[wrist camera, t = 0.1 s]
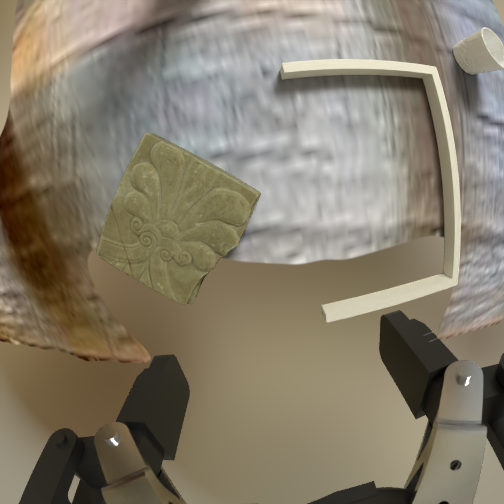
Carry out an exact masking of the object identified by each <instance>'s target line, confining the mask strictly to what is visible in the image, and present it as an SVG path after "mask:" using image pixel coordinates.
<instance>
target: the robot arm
mask: <svg viewBox="0 0 504 504" xmlns="http://www.w3.org/2000/svg"><path fill="white" fill-rule="evenodd" d="M379 350H380V356H381V359H382V361H383V363H384V365H385V366H386V368H387V370H388V371H389V373H390V375H391V376H392V378H393V380H394V382H395V383H396V385H397V386H398V388H399V390H400V392H401V394H402V395H403V397H404V399H405V401H406V403H407V404H408V406H409V408H410V410H411V412H412V413H413V415H414V417H415V419H417V418H420V417H422V416H424V415H426V416H427V418H428V422H427V426H426V429H425V433H424V436H423V440H422V443H421V446H420V449H419V452H418V455H417V458H416V461H415V464H414V466H413V468H412V471H411V473H410V475H409V477H408V479H407V481H406V484H405V486H404V488H403V489H402V488H393V487H385V488H384V487H382V488H376V486H375V483H374V481H372V482H369V483H366V484H362V485H359V486H356V487H352V488H349V489H345V490H341V491H337V492H334V493H332V494H330V495H328V496H325V497H323V498H321V499H318V500H316V501H314V502H311V503H308V504H473V501H474V498H475V494H476V490H477V486H478V482H479V478H480V473H481V468H482V463H483V458H484V451H485V445H486V437H487V439H488V441H489V442H490V444H491V446H492V447H493V450H494V452H495V454H496V456H497V457H498V460H499V461H500V463H501V466H502V468H503V470H504V353H503V355H502V356H501V359H500V362H499V364H496V365H492V366H488V367H484V368H480V367H479V366H478V365H477V364H476V363H474V362H472V361H467V360H461V361H459V360H458V359H457V358H456V357H455V356H454V355H453V354H452V353H451V352H450V350H449V349H448V348H447V347H446V346H445V345H444V344H443V343H442V342H441V341H440V340H439V339H437V336H436V335H435V334H434V333H432V332H431V330H430V329H429V328H428V327H427V326H426V325H425V324H424V323H422V322H420V321H417V320H415V319H411V320H409V319H408V318H407V317H406V315H404V313H403V312H402V311H400V310H398V311H395V312H392V313H389V314H385V315H382V317H381V321H380V345H379ZM189 395H190V390H189V385H188V382H187V380H186V378H185V376H184V373H183V371H182V369H181V367H180V365H179V363H178V360H177V358H176V357H175V355H161V356H155V357H154V358H153V360H152V362H151V364H150V367H149V368H148V369H145V370H144V371H143V372H141V374H139V375H138V377H137V378H136V380H135V382H134V384H133V388H131V390H130V392H129V395H128V396H127V399H126V401H125V403H124V405H123V407H122V409H121V411H120V413H119V416H118V418H117V420H116V422H111V423H108V424H105V425H104V426H102V427H101V428H100V429H99V430H98V431H97V432H96V434H95V436H90V437H82V438H79V437H78V436H77V435H76V434H75V433H74V432H73V431H72V430H70V429H68V428H67V429H66V428H63V429H59V430H58V431H56V432H54V433H53V434H52V435H51V436H50V438H49V440H48V442H47V444H46V446H45V448H44V449H43V452H42V454H41V455H40V458H39V460H38V462H37V464H36V466H35V468H34V470H33V473H32V474H31V477H30V479H29V481H28V483H27V485H26V488H25V490H24V492H23V495H22V497H21V500H20V502H19V504H71V503H70V501H69V500H68V491H69V488H70V485H71V483H72V480H73V477H74V475H76V476H77V477H78V478H80V482H79V485H78V487H77V490H76V493H75V496H74V499H73V502H72V504H187V503H186V502H185V501H184V499H183V498H182V496H181V495H180V493H179V492H178V490H177V489H176V487H175V486H174V485H173V483H172V481H171V480H170V478H169V477H168V475H167V474H166V472H165V470H164V469H163V467H162V466H161V465H162V461H163V460H174V459H175V454H176V450H177V446H178V442H179V437H180V433H181V429H182V424H183V420H184V416H185V412H186V408H187V404H188V400H189Z"/></svg>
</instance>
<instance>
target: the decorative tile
mask: <svg viewBox="0 0 504 504" xmlns="http://www.w3.org/2000/svg"><path fill="white" fill-rule="evenodd" d="M260 195H261V193H260V192H259V191H257V190H256V189H254V188H253V187H251V186H249V185H248V184H246V183H244V182H243V181H241V180H239V179H238V178H236V177H234V176H232V175H231V174H229V173H227V172H226V171H224V170H222V169H220V168H219V167H217V166H215V165H213V164H212V163H210V162H208V161H206V160H204V159H202V158H200V157H198V156H197V155H195V154H193V153H191V152H189V151H187V150H185V149H183V148H182V147H180V146H177V145H175V144H173V143H171V142H169V141H167V140H165V139H164V138H162V137H160V136H158V135H156V134H152V133H145V135H144V136H143V138H142V140H141V141H140V143H139V145H138V147H137V149H136V151H135V153H134V155H133V157H132V159H131V161H130V163H129V165H128V167H127V169H126V171H125V173H124V175H123V178H122V180H121V182H120V185H119V187H118V189H117V192H116V194H115V197H114V199H113V202H112V205H111V206H110V209H109V212H108V215H107V217H106V221H105V224H104V227H103V230H102V233H101V236H100V240H99V243H98V247H97V251H96V253H97V255H98V256H100V257H101V258H102V259H103V260H105V261H107V262H108V263H110V264H111V265H113V266H114V267H116V268H118V269H119V270H121V271H123V272H124V273H126V274H128V275H130V276H131V277H133V278H135V279H137V280H138V281H140V282H142V283H143V284H145V285H147V286H149V287H150V288H152V289H154V290H155V291H157V292H159V293H161V294H163V295H164V296H167V297H168V298H170V299H173V300H175V301H177V302H179V303H181V304H183V305H186V304H188V303H189V304H192V303H193V302H194V300H195V298H196V296H197V295H198V292H199V288H200V286H201V284H202V282H203V280H204V278H205V276H206V275H207V274H208V273H209V271H210V270H212V269H213V268H214V267H215V266H216V264H217V262H218V261H219V258H220V257H224V256H226V255H227V253H228V252H229V251H230V250H231V249H233V248H234V247H236V246H237V245H238V244H239V241H240V238H241V236H242V234H243V231H244V229H245V227H246V226H247V224H248V222H249V218H250V215H251V214H252V212H253V210H254V207H255V205H256V203H257V201H258V200H259V197H260Z"/></svg>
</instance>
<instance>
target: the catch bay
mask: <svg viewBox="0 0 504 504" xmlns="http://www.w3.org/2000/svg"><path fill="white" fill-rule="evenodd" d="M280 73H281V77H282V80H284V79H292V78H302V77H314V76H331V75H386V76H402V77H414V78H422V79H423V82H424V86H425V89H426V93H427V97H428V101H429V105H430V109H431V113H432V118H433V123H434V128H435V133H436V139H437V145H438V151H439V158H440V166H441V175H442V186H443V200H444V244H445V245H444V268H443V273H441V274H438V275H435V276H432V277H428V278H425V279H422V280H418V281H415V282H412V283H408V284H404V285H401V286H397V287H394V288H390V289H386V290H382V291H379V292H375V293H371V294H367V295H363V296H359V297H355V298H351V299H346V300H342V301H338V302H333V303H329V304H324V305H321V306H322V314H323V316H324V318H325V320H326V322H327V323H328V322H332V321H337V320H340V319H345V318H349V317H353V316H357V315H361V314H364V313H369V312H372V311H376V310H380V309H383V308H386V307H390V306H394V305H397V304H400V303H404V302H407V301H410V300H413V299H417V298H420V297H423V296H426V295H429V294H432V293H435V292H438V291H441V290H444V289H447V288H449V287H452V286H455V285H457V283H458V273H459V260H460V238H461V212H460V190H459V177H458V167H457V159H456V151H455V144H454V138H453V132H452V127H451V122H450V117H449V112H448V108H447V104H446V100H445V96H444V92H443V88H442V85H441V81H440V78H439V75H438V72H437V68H436V67H433V66H427V65H421V64H413V63H405V62H395V61H382V60H361V59H332V60H310V61H297V62H287V63H282V65H281V68H280Z"/></svg>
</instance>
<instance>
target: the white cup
mask: <svg viewBox="0 0 504 504" xmlns="http://www.w3.org/2000/svg"><path fill="white" fill-rule="evenodd" d="M453 54H454V57H455V59H456V61H457V63H458V64H459V66H460V67H461V68H462V69H463V70H464V71H465V72H466V73H468V74H471V75H473V74H477V73H485V72H491V71H496V70H502V69H504V45H503V43H502V42H501V40H500V39H499V37H498V36H497V35H496V34H495V33H494V32H493V31H491V30H490V29H488V28H482V29H480V30H479V31H477V32H475V33H473V34H471V35H469V36H468V37H466V38H464V39H463V40H462V41H460V42H459V43H457V44H455V45H454V47H453Z"/></svg>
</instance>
